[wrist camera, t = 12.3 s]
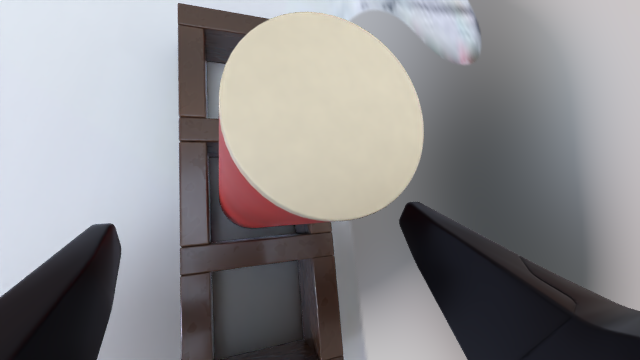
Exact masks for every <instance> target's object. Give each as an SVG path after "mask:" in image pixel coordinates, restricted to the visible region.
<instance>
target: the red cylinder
mask: <svg viewBox="0 0 640 360" xmlns="http://www.w3.org/2000/svg"><path fill="white" fill-rule="evenodd" d="M423 127H424V126H423V117H422V111H421V107H420V103H419V99H418V96H417V94H416V91H415V88H414V86H413V84H412V82H411V80H410V78H409V76H408V74H407V73H406V71H405V69H404V68H403V66H402V65H401V64H400V62H399V61H398V59H397V58H396V57H395V56H394V55H393V54H392V52H391V51H390V50H389V49H388V48H387V47H386V46H385V45H384V44H383V43H382V42H380V41H379V40H378V39H377V38H376V37H374V36H373V35H372V34H370V33H369V32H368V31H366V30H364V29H362V28H361V27H359V26H358V25H356V24H353V23H351V22H349V21H347V20H345V19H342V18H339V17H336V16H332V15H328V14H323V13H315V12H295V13H289V14H283V15H280V16H277V17H274V18H271V19H269V20H267V21H265V22H263V23H261V24H260V25H258V26H257V27H255V28H254V29H253V30H251V31H250V32H249V33H248V34H247V35H246V36H245V37H244V38H243V39H242V40H241V41H240V42H239V43H238V44H237V46H236V47H235V48H234V50H233V51H232V53H231V55H230V57H229V59H228V61H227V63H226V65H225V68H224V71H223V74H222V77H221V83H220V89H219V202H220V206H221V209H222V211H223V213H224V214H225V215H226V217H227V218H228V219H229V220H230V221H232V222H233V223H235V224H236V225H238V226H241V227H245V228H262V227H274V226H287V225H299V224H311V223H323V222H335V221H348V220H354V219H358V218H363V217H365V216H368V215H371V214H374V213H376V212H377V211H379V210H381V209H383V208H385V207H386V206H387V205H389V204H390V203H391V202H393V201H394V200H395V199H396V198H397V197H398V196H399V195H400V194H401V193H402V192H403V191H404V189H405V188H406V187H407V185H408V184H409V182H410V181H411V179H412V177H413V175H414V173H415V172H416V169H417V166H418V164H419V161H420V157H421V153H422V148H423V138H424V128H423Z"/></svg>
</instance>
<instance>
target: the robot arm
mask: <svg viewBox="0 0 640 360" xmlns="http://www.w3.org/2000/svg"><path fill="white" fill-rule="evenodd" d="M399 224H400V227H401V229H402V232H403V234H404V237H405V239H406V241H407V244H408V246H409V248H410V251H411V253H412V255H413V258H414V260H415V262H416V264H417V266H418V268H419V270H420V272H421V274H422V276H423V277H424V279H425V281H426V283H427V285H428V287H429V289H430V290H431V292H432V294H433V296H434V298H435V300H436V302H437V303H438V305H439V307H440V309H441V311H442V313H443V314H444V316H445V318H446V320H447V322H448V324H449V326H450V328H451V330H452V331H453V333H454V335H455V337H456V339H457V341H458V342H459V344H460V346H461V348H462V350H463V352H464V354H465V356H466V357H467V359H468V360H640V311H637V310H634V309H630V308H627V307H625V306H622V305H619V304H617V303H615V302H612V301H611V300H609V299H607V298H604V297H602V296H600V295H598V294H596V293H594V292H592V291H590V290H587V289H585V288H583V287H581V286H579V285H577V284H575V283H573V282H571V281H569V280H567V279H565V278H563V277H560V276H558V275H556V274H554V273H552V272H550V271H548V270H546V269H544V268H543V267H541V266H539V265H536V264H535V263H533V262H531V261H529V260H527V259H525V258H523V257H521V256H518V255H517V254H515V253H514V252H512V251H509V250H508V249H506V248H504V247H503V246H501V245H499V244H497V243H495V242H493V241H491V240H489V239H487V238H486V237H484V236H482V235H480V234H478V233H476V232H474V231H472V230H470V229H469V228H466V227H465V226H463V225H461V224H459V223H457V222H455V221H454V220H452V219H450V218H448V217H446V216H444V215H442V214H440V213H438V212H437V211H435V210H433V209H431V208H429V207H427V206H425V205H423V204H421V203H419V202H409V203H407V204H406V206H405V208H404V210H403V212H402V215H401V217H400V220H399ZM120 258H121V244H120V241H119V238H118V235H117V232H116V228H115V226H114V225H113V224H111V223H108V224H95V225H92V226H90V227H89V228H88V229H86V230H85V231H84V232H83V233H81V234H80V235H79V236H78V237H76V238H75V239H74V240H72V241H71V242H70V243H69V244H67V245H66V246H65V247H64V248H62V249H61V250H60V251H58V252H57V253H56V254H55V255H53V256H52V257H51V258H50V259H48V260H47V261H46V262H45V263H43V264H42V265H41V266H39V267H38V268H37V269H36V270H34V271H33V272H32V273H31V274H29V275H28V276H27V277H25V278H24V279H23V280H22V281H20V282H19V283H18V284H17V285H15V286H14V287H13V288H11V289H10V290H9V291H8V292H6V293H5V294H4V295H3V296H1V297H0V360H97V357H98V354H99V350H100V347H101V344H102V341H103V337H104V334H105V331H106V327H107V324H108V321H109V317H110V314H111V310H112V305H113V299H114V293H115V287H116V281H117V276H118V270H119V264H120Z"/></svg>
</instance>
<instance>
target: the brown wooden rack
mask: <svg viewBox="0 0 640 360" xmlns="http://www.w3.org/2000/svg"><path fill="white" fill-rule="evenodd" d="M267 20H269V19H267V18H261V17H255V16H250V15H244V14H238V13H232V12H227V11H221V10H215V9H210V8H204V7H198V6H192V5H187V4H181V3H178V81H179V117H180V118H179V141H180V143H179V189H180V246H181V247H182V248H180V275H182V276H181V277H180V306H181V360H214V329H213V291H212V272H213V271H221V270H228V269H236V268H243V267H251V266H258V265H265V264H273V263H280V262H288V261H295V260H298V269H299V283H300V297H301V311H302V325H303V338H304V339H303V340H299V341H295V342H291V343H287V344H282V345H278V346H274V347H270V348H266V349H262V350H257V351H253V352H249V353H245V354H241V355H237V356H233V357H228V358H224V359H220V360H344V358H343V345H342V334H341V323H340V312H339V301H338V291H337V280H336V269H335V258H334V249H333V238H332V232H331V231H332V227H331V222H323V223H311V224H299V225H295V226H296V233H297V234H287V235H277V236H267V237H257V238H247V239H237V240H227V241H217V242H211V215H210V177H209V157H219V119H211V118H208V100H207V62H206V61H212V62H221V63H227V61H228V59H229V57H230V55H231V53H232V51H233V50H234V48H235V47H236V46H237V44H238V43H239V42H240V41H241V40H242V39H243V38H244V37H245V36H246V35H247V34H248V33H249V32H250V31H251V30H253V29H254V28H255V27H257V26H258V25H260V24H261V23H263V22H265V21H267Z"/></svg>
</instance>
